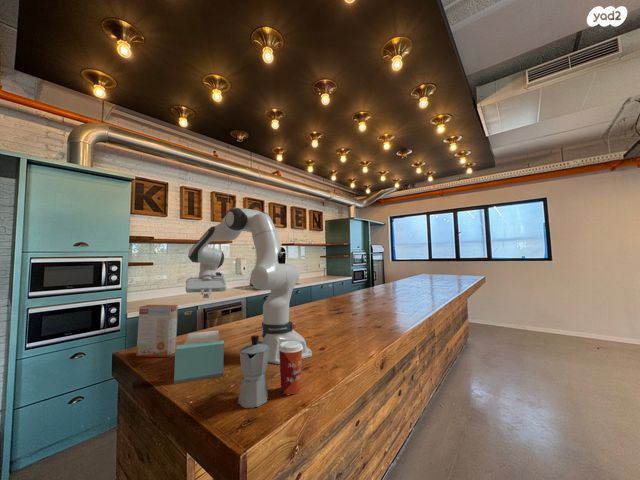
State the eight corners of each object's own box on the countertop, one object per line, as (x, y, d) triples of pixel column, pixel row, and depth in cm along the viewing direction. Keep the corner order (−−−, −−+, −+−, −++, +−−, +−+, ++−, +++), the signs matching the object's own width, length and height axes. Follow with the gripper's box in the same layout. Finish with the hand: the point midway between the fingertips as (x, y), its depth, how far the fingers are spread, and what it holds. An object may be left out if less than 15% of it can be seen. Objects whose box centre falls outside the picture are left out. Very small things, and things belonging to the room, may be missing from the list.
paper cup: (292, 400, 72) (292, 349, 73) (272, 392, 76) (273, 345, 77) (308, 388, 78) (308, 342, 79) (288, 382, 82) (289, 338, 83)
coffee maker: (265, 412, 66) (267, 342, 67) (231, 414, 65) (233, 343, 67) (272, 385, 80) (273, 328, 82) (244, 386, 80) (245, 328, 81)
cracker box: (176, 352, 110) (178, 304, 111) (166, 358, 104) (169, 306, 106) (146, 351, 111) (149, 304, 113) (135, 356, 105) (138, 306, 107)
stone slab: (218, 339, 112) (218, 330, 112) (218, 356, 92) (219, 345, 92) (188, 342, 107) (188, 333, 108) (181, 361, 87) (182, 349, 87)
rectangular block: (220, 342, 123) (221, 320, 124) (223, 375, 87) (224, 343, 88) (186, 346, 117) (187, 323, 118) (173, 383, 81) (175, 349, 82)
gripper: (186, 274, 135) (183, 294, 125) (226, 273, 143) (226, 292, 133) (186, 281, 139) (183, 302, 129) (225, 280, 147) (225, 300, 137)
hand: (205, 297), depth 131 cm, fingers closed
